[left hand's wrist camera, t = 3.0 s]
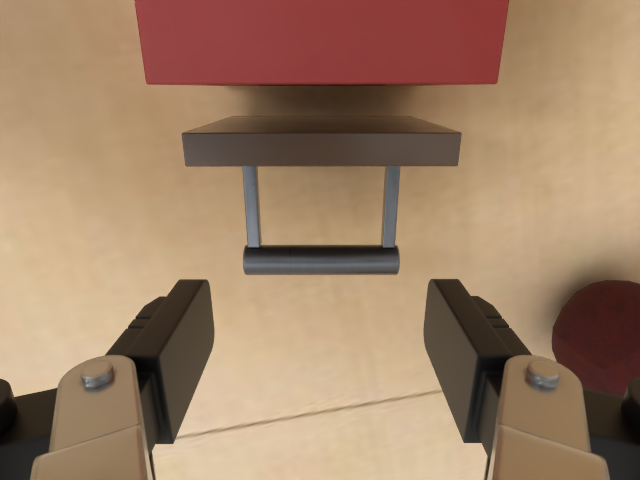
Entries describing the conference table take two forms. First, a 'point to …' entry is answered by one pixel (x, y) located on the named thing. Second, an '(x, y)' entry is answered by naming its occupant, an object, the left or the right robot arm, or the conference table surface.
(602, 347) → the dark maroon ball
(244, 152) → the drawer
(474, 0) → the cabinet
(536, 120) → the conference table surface
